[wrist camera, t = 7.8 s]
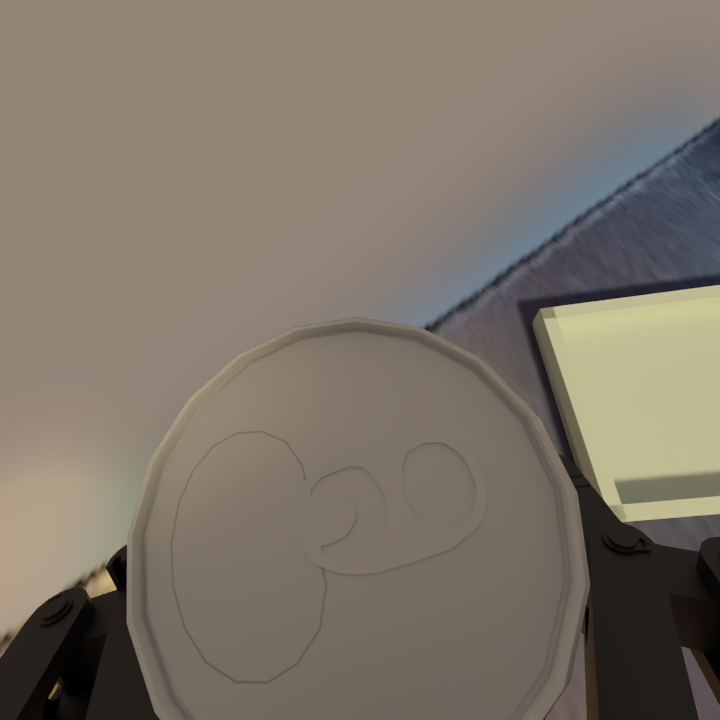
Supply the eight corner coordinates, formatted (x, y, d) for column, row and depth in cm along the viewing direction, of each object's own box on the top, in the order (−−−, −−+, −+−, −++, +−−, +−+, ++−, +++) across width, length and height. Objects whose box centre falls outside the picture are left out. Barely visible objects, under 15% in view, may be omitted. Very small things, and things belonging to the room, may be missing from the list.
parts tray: (779, 291, 31) (808, 273, 29) (916, 496, 24) (967, 493, 22) (531, 323, 33) (540, 308, 30) (594, 523, 26) (611, 522, 24)
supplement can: (338, 642, 18) (69, 1016, 4) (304, 468, 21) (100, 360, 8) (505, 593, 17) (798, 810, 4) (442, 426, 21) (483, 240, 8)
